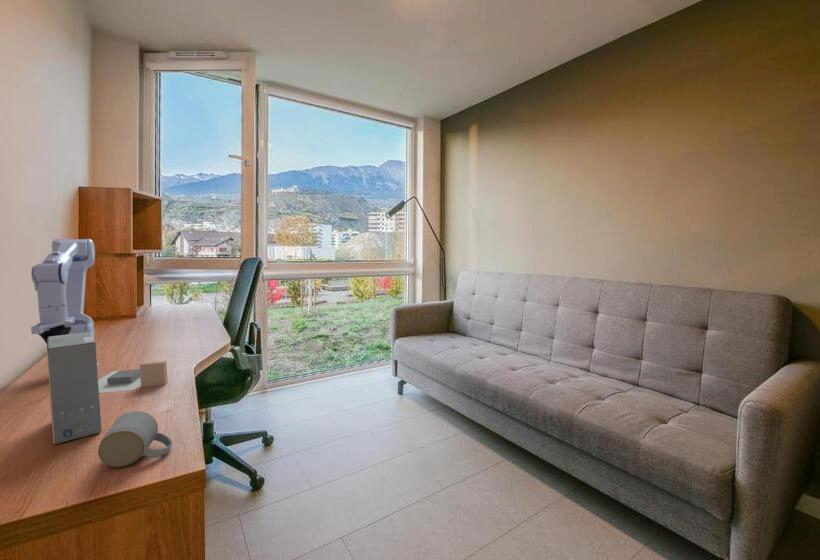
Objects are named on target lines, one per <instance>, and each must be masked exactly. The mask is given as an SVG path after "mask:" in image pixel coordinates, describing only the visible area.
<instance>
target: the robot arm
mask: <svg viewBox="0 0 820 560" xmlns="http://www.w3.org/2000/svg"><path fill="white" fill-rule="evenodd" d="M51 242H52V243H51V250H52V252H51V253H49V254H48V255H47V256H46V257H45V259H44V260H43V261H42V262H41V263H36V265H33V266H32V267H31V272H30V274H31V275H30V276H31V280H32V282H33V287H34V291H36V293H37V304H38V316H39V322H38V323H37V324H35V325H34V326H31V327H30V329H31V330H30V331H31V335H36V334H37V335H39V336H40V337H41V338H42V340H43V341H44V342H45V344H46V345H47V338H48V337H50V336H59V335H67V334H76V333H85V332H90V333H91V335H92V337H93V339H94V340H95V322H94V320H93V318H92V317H91V316H88V315H87V314H84V309H85V296H86V295H85V293H86V279H87V273H88V270H89V269H88V268H91V267H93V266H94V263H95V259H96V258H95V257H96V247H95V246H96V245H95V242H94V240H92V239H91V238H83V239H82V238H81V239H79V238H55V239H54V240H52V241H51ZM99 366H100V363H97V367H99Z"/></svg>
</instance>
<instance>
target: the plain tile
mask: <svg viewBox="0 0 820 560" xmlns="http://www.w3.org/2000/svg"><path fill="white" fill-rule="evenodd" d="M167 364H168V363H167V360H161V361H145V362H141V363H139V369H140V379H141V385H140V388H149V387H161V386H166V385H167V384H168V382H169V381H168V368H167V367H168V366H167Z"/></svg>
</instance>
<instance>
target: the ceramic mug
mask: <svg viewBox="0 0 820 560" xmlns="http://www.w3.org/2000/svg"><path fill="white" fill-rule="evenodd" d="M158 430H159V425H158V421H157V420H156V419H155V417H154V416H153V415H151V414H150V413H148V412H145V411H141V410H140V411H139V410H136V411H135V410H134V411H128V412H126V413H124V414H121V415H120V416H119V417H117V418H116V420H115V421H114V422H113V423H112V425H111V427H110V428H109V429H108V431H107V432H106V433H105V435H104V436H103V437H102V438H101V441H100V443H99V446H98V449H97V450H98V451H97V454H98V457H99V459H100V460H101V462H102V463H103V464H105V465H106V466H109V467H112V468H125V467H128V466H131V465H132V464H134V463H136V462H137V461H138V460H139V459H140V458H142V457H147V458H159V457H163V456H165V455H167V454H168V453H169V452H170V450H171V448H172V446H173V441H172V439H171V438H170V437H169V436H168V435H165V434H163V433H160V432H159V431H158ZM153 441H157V442H159V443H161V444H163V445H165V446H166V447H165V448H162V449H156V448H149V447H150V445H151V444H152V443H153Z"/></svg>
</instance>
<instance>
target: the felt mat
mask: <svg viewBox="0 0 820 560" xmlns="http://www.w3.org/2000/svg"><path fill="white" fill-rule="evenodd" d="M118 371H119V370H112V371H111V372H109V373H107V374H106V375H104V376H102V377H101V378H98V387H99V394H104V393H106V394H107V393H118V392H128V391H129V392H130V391H135V390H136V389H137V388H138V387H141V379H140V377H139V378H137V379H136V380H135V381H133V382H132V383H125V384H113V385H109V384H108V383H107V378H109V377H110V376H112V375H113V374H115V373H117V372H118Z"/></svg>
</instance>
